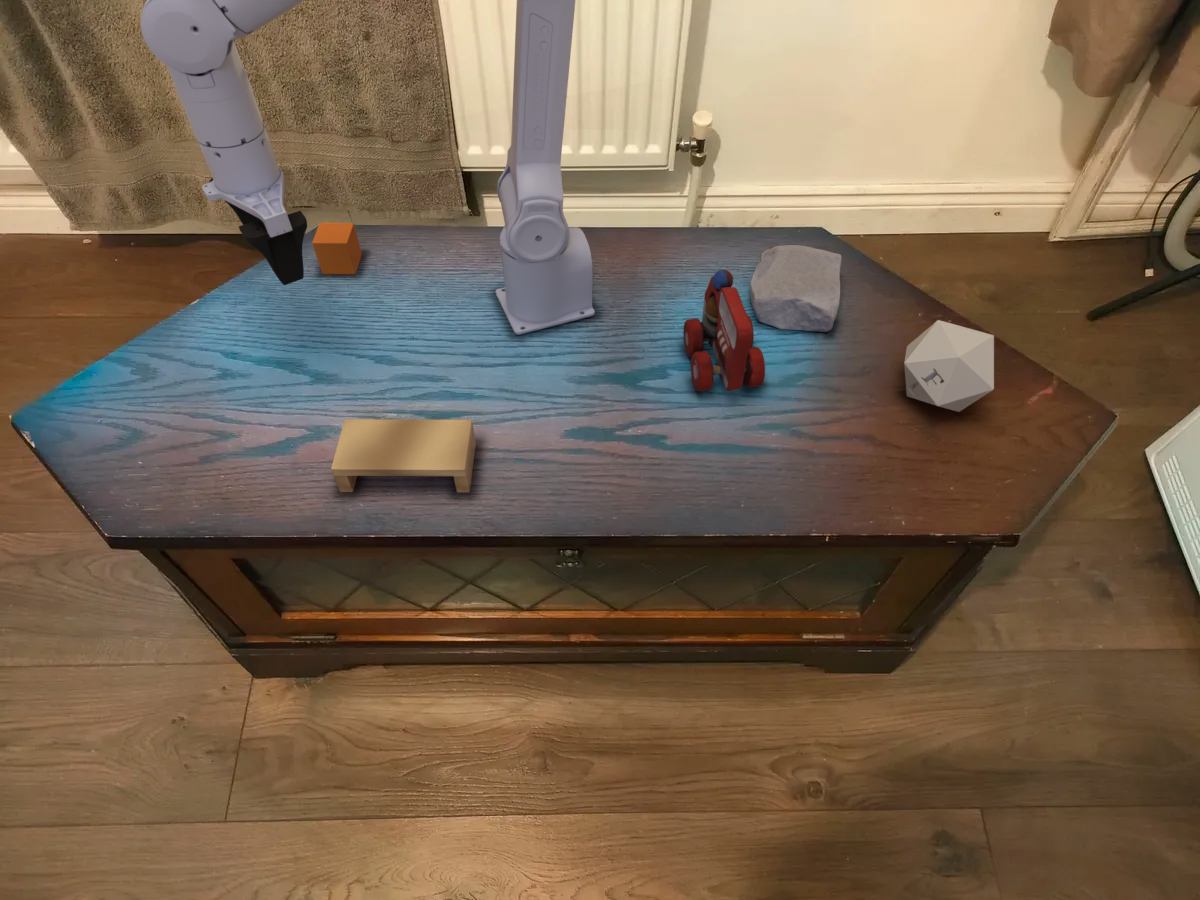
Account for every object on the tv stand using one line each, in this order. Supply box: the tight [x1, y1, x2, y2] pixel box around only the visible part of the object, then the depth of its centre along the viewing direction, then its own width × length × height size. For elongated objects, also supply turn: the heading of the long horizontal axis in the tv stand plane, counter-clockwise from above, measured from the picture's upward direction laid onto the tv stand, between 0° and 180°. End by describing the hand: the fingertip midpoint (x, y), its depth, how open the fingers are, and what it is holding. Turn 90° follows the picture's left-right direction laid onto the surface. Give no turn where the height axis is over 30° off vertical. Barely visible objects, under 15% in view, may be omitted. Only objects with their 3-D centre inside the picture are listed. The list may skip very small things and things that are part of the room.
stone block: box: [749, 244, 842, 333], centre depth 89 cm, size 12×5×10 cm
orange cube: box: [311, 222, 363, 275], centre depth 92 cm, size 4×4×4 cm
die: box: [903, 319, 995, 413], centre depth 78 cm, size 8×9×10 cm
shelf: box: [330, 418, 477, 493], centre depth 72 cm, size 12×6×4 cm, turn 90°
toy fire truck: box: [683, 269, 766, 392], centre depth 79 cm, size 7×12×10 cm, turn 6°
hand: (279, 259), depth 78 cm, fingers open, 7 cm apart
